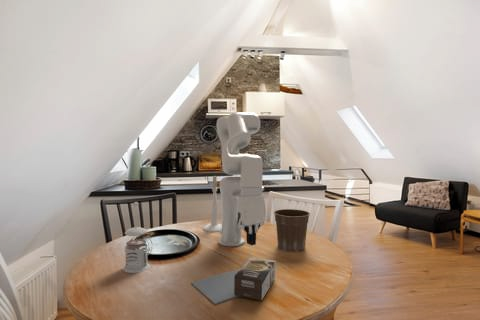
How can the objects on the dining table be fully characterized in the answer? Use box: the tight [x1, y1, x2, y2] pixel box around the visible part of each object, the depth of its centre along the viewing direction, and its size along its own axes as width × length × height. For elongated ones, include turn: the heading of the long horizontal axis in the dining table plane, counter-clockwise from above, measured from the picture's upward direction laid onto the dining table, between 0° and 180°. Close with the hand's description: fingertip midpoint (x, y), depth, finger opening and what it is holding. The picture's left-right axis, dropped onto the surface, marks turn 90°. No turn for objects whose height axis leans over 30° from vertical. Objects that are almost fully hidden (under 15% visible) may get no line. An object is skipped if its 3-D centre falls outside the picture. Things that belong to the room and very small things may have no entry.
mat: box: [190, 269, 240, 306], centre depth 97 cm, size 16×18×1 cm
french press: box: [122, 201, 153, 274], centre depth 110 cm, size 10×12×25 cm
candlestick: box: [203, 175, 222, 233], centre depth 163 cm, size 13×13×30 cm
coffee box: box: [234, 257, 276, 301], centre depth 95 cm, size 9×6×16 cm
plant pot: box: [273, 208, 311, 252], centre depth 133 cm, size 16×16×16 cm
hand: (251, 243), depth 102 cm, fingers closed
